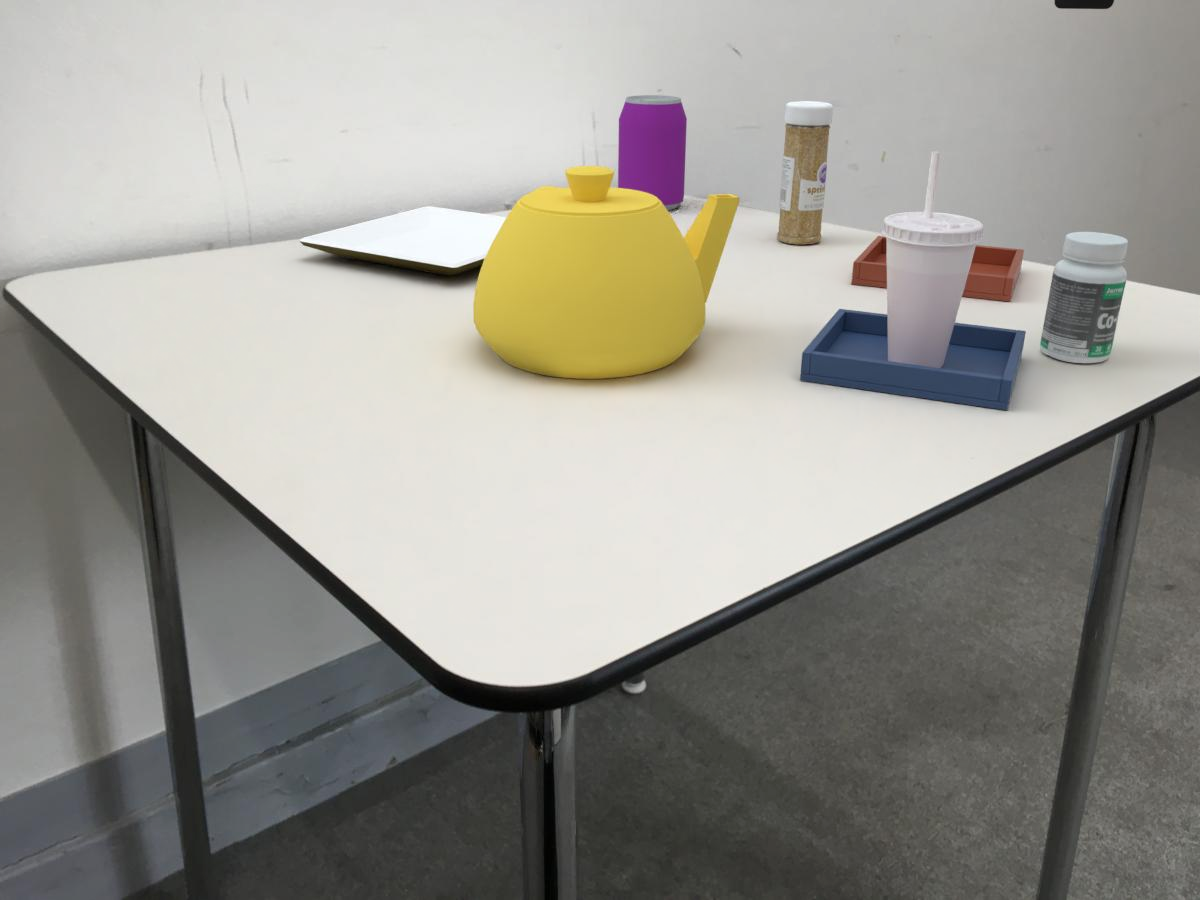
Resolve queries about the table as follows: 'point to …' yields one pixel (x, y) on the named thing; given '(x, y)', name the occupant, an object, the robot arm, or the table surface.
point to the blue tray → (968, 375)
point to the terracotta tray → (985, 280)
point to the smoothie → (926, 277)
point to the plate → (416, 240)
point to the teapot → (598, 279)
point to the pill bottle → (1085, 298)
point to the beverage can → (653, 147)
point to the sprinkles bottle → (804, 171)
